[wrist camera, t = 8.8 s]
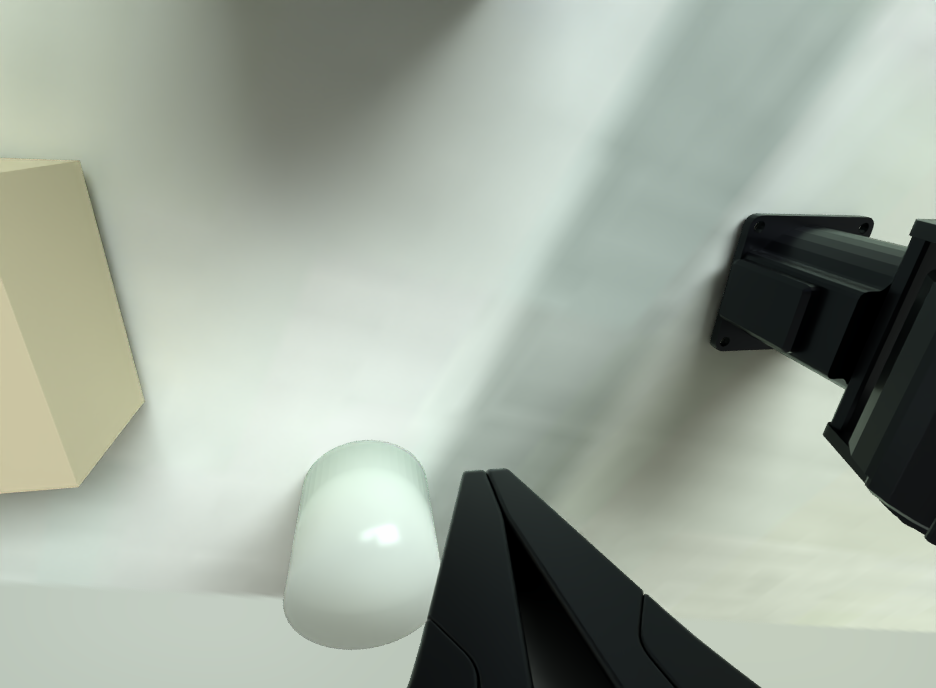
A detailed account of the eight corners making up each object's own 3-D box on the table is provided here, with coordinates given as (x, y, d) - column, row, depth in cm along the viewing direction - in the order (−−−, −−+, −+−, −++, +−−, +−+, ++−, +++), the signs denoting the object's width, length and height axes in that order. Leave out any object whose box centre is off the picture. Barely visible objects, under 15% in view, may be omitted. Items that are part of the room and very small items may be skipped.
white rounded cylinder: (427, 435, 23) (445, 531, 18) (425, 528, 26) (441, 637, 20) (296, 444, 22) (273, 550, 17) (308, 541, 24) (291, 659, 19)
